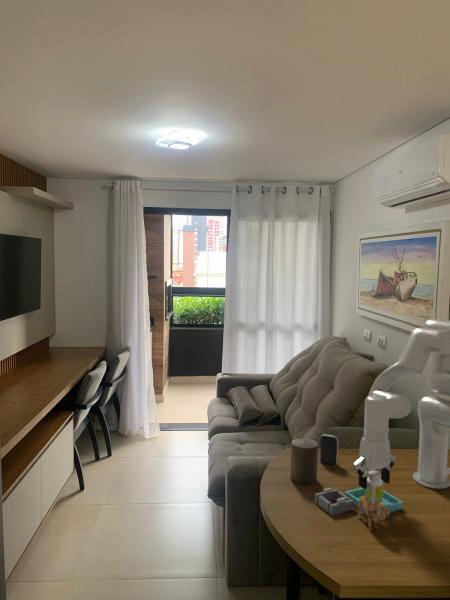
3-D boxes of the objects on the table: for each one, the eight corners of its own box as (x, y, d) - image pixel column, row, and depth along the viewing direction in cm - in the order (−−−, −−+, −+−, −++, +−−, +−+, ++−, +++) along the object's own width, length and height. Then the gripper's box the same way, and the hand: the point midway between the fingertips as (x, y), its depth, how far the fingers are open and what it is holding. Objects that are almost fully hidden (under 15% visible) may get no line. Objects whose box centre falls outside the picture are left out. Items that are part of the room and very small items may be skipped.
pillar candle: (311, 487, 158) (313, 446, 158) (286, 480, 163) (287, 440, 163) (320, 477, 167) (321, 438, 166) (295, 471, 172) (297, 432, 171)
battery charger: (339, 462, 180) (339, 434, 179) (336, 466, 177) (337, 437, 176) (322, 458, 183) (322, 431, 183) (319, 462, 180) (320, 434, 179)
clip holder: (335, 497, 152) (336, 485, 152) (353, 509, 144) (354, 497, 144) (314, 502, 148) (315, 490, 148) (331, 515, 140) (332, 502, 140)
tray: (373, 491, 157) (374, 484, 157) (402, 509, 145) (403, 502, 145) (344, 498, 151) (344, 491, 151) (372, 517, 139) (372, 510, 139)
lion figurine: (391, 534, 131) (393, 504, 130) (376, 537, 129) (378, 507, 129) (360, 509, 145) (361, 482, 144) (346, 512, 143) (347, 484, 142)
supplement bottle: (383, 500, 150) (384, 471, 149) (381, 507, 145) (382, 478, 144) (366, 496, 152) (367, 468, 151) (364, 503, 147) (365, 474, 146)
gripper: (387, 426, 154) (385, 475, 155) (347, 433, 146) (345, 484, 148) (404, 434, 147) (402, 484, 148) (363, 441, 140) (361, 494, 141)
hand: (374, 484), depth 148 cm, fingers open, 9 cm apart
